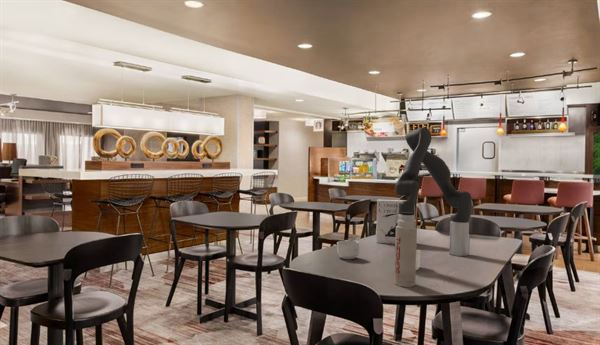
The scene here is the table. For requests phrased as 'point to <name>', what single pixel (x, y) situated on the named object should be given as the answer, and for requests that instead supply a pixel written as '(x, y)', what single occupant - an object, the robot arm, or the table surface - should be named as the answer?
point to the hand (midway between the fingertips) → (405, 260)
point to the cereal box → (387, 220)
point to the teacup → (348, 249)
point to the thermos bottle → (405, 251)
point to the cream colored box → (417, 259)
